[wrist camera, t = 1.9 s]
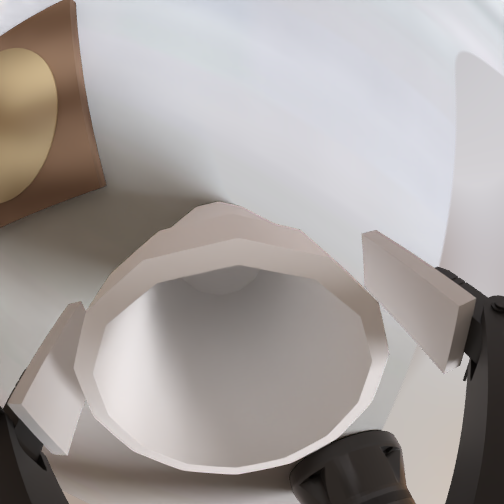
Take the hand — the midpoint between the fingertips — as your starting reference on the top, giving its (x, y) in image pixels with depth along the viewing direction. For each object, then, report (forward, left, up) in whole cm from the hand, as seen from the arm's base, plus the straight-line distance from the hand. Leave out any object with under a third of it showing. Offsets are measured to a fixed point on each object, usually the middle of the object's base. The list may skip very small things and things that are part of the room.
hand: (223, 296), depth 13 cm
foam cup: (0, 0, -8) cm, 8 cm away
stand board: (+13, +13, -7) cm, 20 cm away
